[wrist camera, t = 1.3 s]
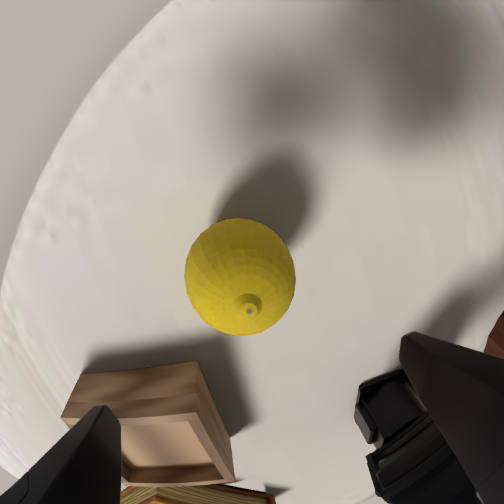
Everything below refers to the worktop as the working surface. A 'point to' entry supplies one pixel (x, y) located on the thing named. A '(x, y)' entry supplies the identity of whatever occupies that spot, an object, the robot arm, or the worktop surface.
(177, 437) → the walnut box
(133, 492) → the diary
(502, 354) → the muffin
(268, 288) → the lemon
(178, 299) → the worktop surface
